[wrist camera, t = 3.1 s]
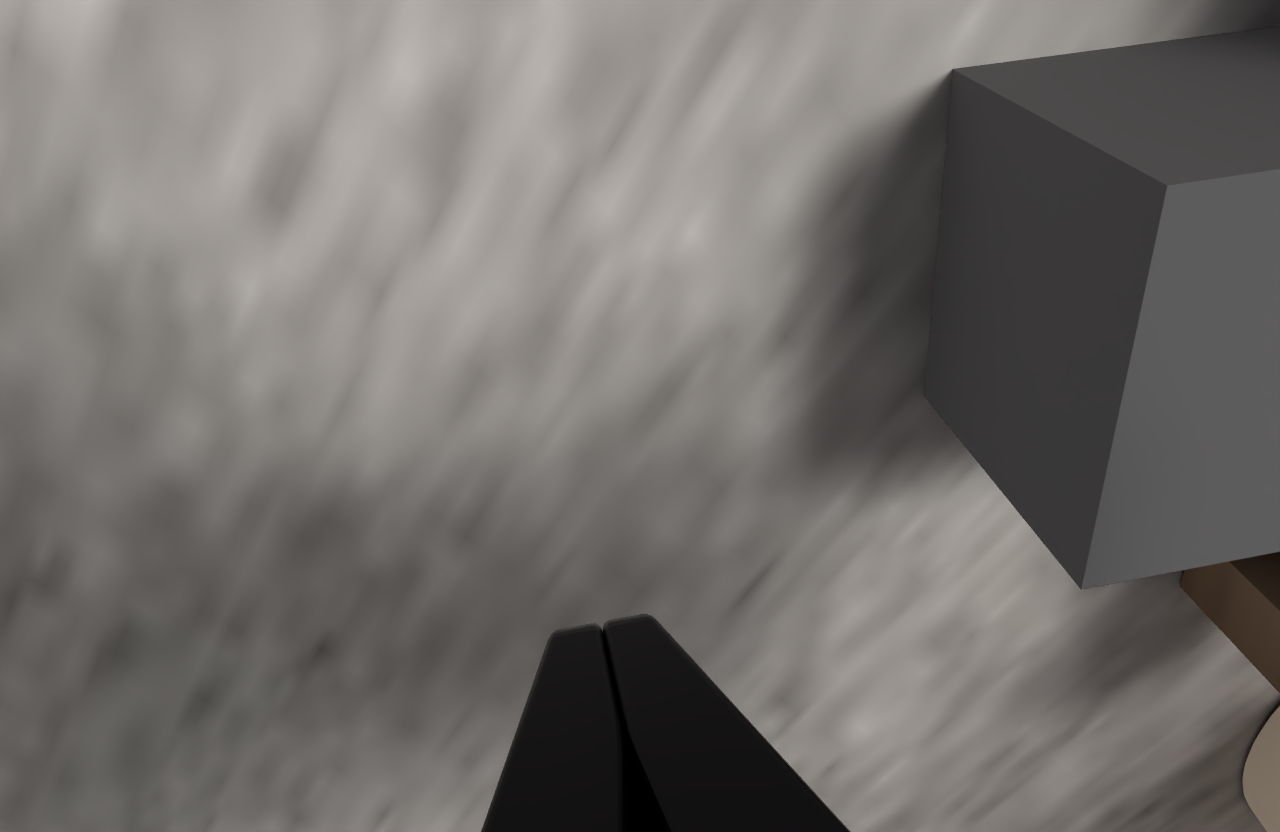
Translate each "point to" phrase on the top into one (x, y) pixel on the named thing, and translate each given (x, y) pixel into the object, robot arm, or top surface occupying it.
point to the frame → (1243, 606)
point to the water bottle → (1265, 775)
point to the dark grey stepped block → (1118, 298)
